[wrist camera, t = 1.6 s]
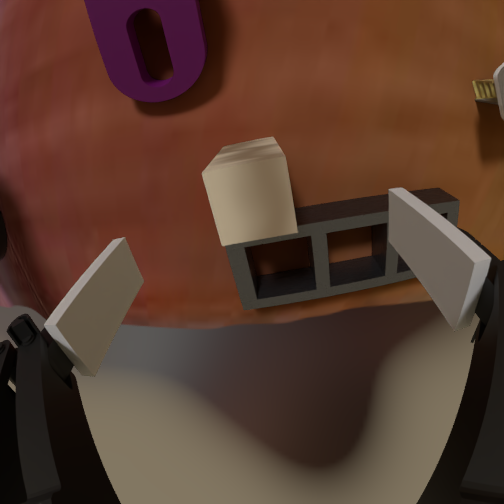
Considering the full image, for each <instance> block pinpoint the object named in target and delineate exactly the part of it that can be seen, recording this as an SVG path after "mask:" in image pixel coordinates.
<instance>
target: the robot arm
mask: <svg viewBox="0 0 504 504" xmlns="http://www.w3.org/2000/svg"><path fill="white" fill-rule="evenodd" d="M388 190H389V237H388V241H389V242H390V244H391V245H392V246H393V247H394V248H395V250H396V251H397V252H398V253H399V255H400V256H401V257H402V259H403V260H404V261H405V262H406V264H407V265H408V266H409V268H410V269H411V270H412V271H413V273H414V274H415V275H416V277H417V278H418V280H419V281H420V282H421V284H422V285H423V286H424V288H425V289H426V291H427V292H428V293H429V295H430V296H431V298H432V299H433V301H434V302H435V303H436V305H437V306H438V308H439V309H440V311H441V312H442V313H443V315H444V317H445V318H446V320H447V321H448V323H449V324H450V326H451V328H452V329H453V331H454V332H455V331H458V330H460V329H463V328H465V327H468V326H470V324H471V322H472V319H473V316H474V314H475V313H476V314H477V316H478V317H479V318H480V321H479V324H478V326H477V328H476V331H475V333H474V335H473V338H472V340H471V342H472V343H473V342H474V340H475V344H474V349H473V355H472V360H471V365H470V369H469V373H468V378H467V382H466V386H465V390H464V393H463V397H462V400H461V404H460V407H459V410H458V413H457V416H456V419H455V422H454V425H453V428H452V431H451V433H450V436H449V438H448V441H447V443H446V446H445V448H444V450H443V453H442V455H441V458H440V460H439V462H438V464H437V466H436V468H435V471H434V472H433V474H432V477H431V479H430V480H429V482H428V484H427V486H426V488H425V490H424V492H423V493H422V495H421V497H420V499H419V500H418V502H417V504H504V260H502V261H500V260H499V259H498V258H497V257H496V256H494V255H493V254H492V253H491V252H490V251H489V250H488V249H487V248H486V247H484V246H483V245H481V243H480V242H479V241H478V240H475V238H474V237H473V236H472V235H470V234H469V233H468V232H466V231H464V230H462V229H460V228H458V227H455V226H454V225H453V224H451V223H450V222H449V221H448V220H446V219H445V218H444V217H442V216H441V215H440V214H439V213H437V212H436V211H435V210H433V209H432V208H430V207H429V206H428V205H426V204H425V203H424V202H422V201H421V200H419V199H418V198H417V197H415V196H414V195H412V194H411V193H409V192H408V191H407V190H405V189H404V188H394V189H388ZM6 247H7V238H6V230H5V225H4V221H3V218H2V215H1V212H0V260H1V259H2V258H3V257H4V255H5V252H6ZM143 282H144V280H143V278H142V276H141V274H140V271H139V269H138V267H137V265H136V262H135V260H134V258H133V255H132V253H131V251H130V248H129V246H128V244H127V241H126V239H125V237H123V238H119V239H115V240H113V241H112V242H111V243H110V244H109V245H108V246H107V247H106V249H105V250H104V251H103V252H102V253H101V254H100V255H99V256H98V257H97V259H96V260H95V261H94V262H93V263H92V264H91V265H90V267H89V268H88V269H87V270H86V271H85V272H84V274H83V275H82V276H81V277H80V278H79V280H78V281H77V282H76V283H75V285H74V286H73V287H72V288H71V289H70V291H69V292H68V293H67V294H66V296H65V297H64V298H63V300H62V301H61V302H60V303H59V305H58V306H57V307H56V309H55V310H54V311H53V313H52V314H51V315H50V317H49V318H48V319H47V321H46V322H45V324H44V329H43V330H42V331H41V332H40V331H39V329H38V328H37V326H36V325H35V324H34V322H33V320H32V319H31V317H30V316H29V315H28V314H23V315H21V316H19V317H17V318H16V319H15V320H14V321H13V322H12V323H11V324H10V325H9V327H8V329H7V333H8V334H9V336H10V337H11V338H12V340H13V341H14V342H15V344H16V345H17V346H18V348H14V347H13V345H12V344H11V342H10V341H9V340H5V341H3V342H0V504H121V503H120V501H119V499H118V497H117V495H116V493H115V491H114V489H113V487H112V484H111V482H110V480H109V478H108V476H107V473H106V471H105V469H104V467H103V464H102V462H101V459H100V456H99V454H98V451H97V449H96V446H95V443H94V440H93V438H92V434H91V431H90V428H89V425H88V422H87V419H86V415H85V412H84V409H83V405H82V401H81V397H80V393H79V389H78V386H77V381H76V377H75V376H74V374H73V373H72V372H71V370H72V368H73V366H75V367H76V369H77V370H78V371H79V372H80V373H81V374H82V375H85V376H95V375H96V373H97V371H98V369H99V367H100V365H101V362H102V360H103V358H104V356H105V354H106V352H107V350H108V348H109V346H110V344H111V342H112V340H113V338H114V336H115V334H116V332H117V330H118V328H119V326H120V324H121V322H122V320H123V319H124V317H125V315H126V313H127V311H128V309H129V307H130V306H131V304H132V302H133V300H134V298H135V296H136V295H137V293H138V291H139V289H140V287H141V286H142V284H143ZM9 380H10V381H11V382H12V383H13V384H14V385H15V386H16V393H15V392H14V391H13V390H12V389H11V387H10V386H9V385H8V381H9Z"/></svg>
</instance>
